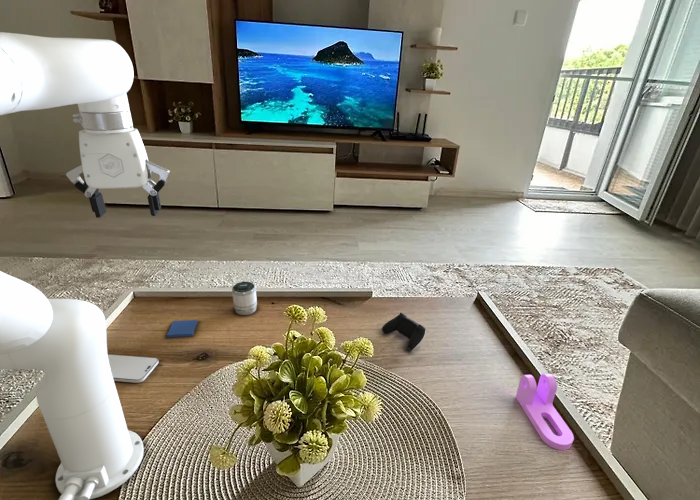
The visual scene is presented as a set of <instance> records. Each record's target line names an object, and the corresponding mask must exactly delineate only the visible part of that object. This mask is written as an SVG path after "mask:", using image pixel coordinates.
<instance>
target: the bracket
mask: <svg viewBox="0 0 700 500" xmlns="http://www.w3.org/2000/svg"><path fill="white" fill-rule="evenodd" d="M557 390H558V384H557V380H556V378H555V376H554V375H553V374H552V373H543V374H541V375H539V380H538V383H537V381H536V379H535V377H534V376H533V375H532V374H522V375H521V376H520V379H519V382H518V387H517V390H516V394H515V399H516V400H517V402H518V403H519V405H520V406H521V408H522V410H523V412H524V413H525V414H526V416H527V418H528V419H529V421H530V423H531V424H532V426H533V428H534V429H535V431H536V432H537V434H538V436H539V438H540V439H541V440H542V442H544V444H546V445H547V446H549V448H552V449H555V450H558V451H567V450H569V449H570V448H571V447H572V445H573V442H574V440H575V436H574V434H573V433H574V432H572V430H571V429H570V427H569V426H568V424H567V423H566V421H564V419H563V417H562V416H561V414H560V413H559V412H558V411H557V409H556V408H555V406H554V405H553V403H554V399H555V397H556V393H557ZM545 419H546V420H547V421H548V422H549V423H550V424H551V426H552V427H553V429H554V430H555V432H556V433H557V434H555V433H554V432H553V431H552V429H551V428H550V426H549V424H548V423H547V422H546V420H545Z"/></svg>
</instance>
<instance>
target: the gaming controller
mask: <svg viewBox="0 0 700 500" xmlns="http://www.w3.org/2000/svg"><path fill="white" fill-rule="evenodd" d="M381 332H382V333H383V335H387V334H388V335H389V334H391V333H393V332H398V333H399V334H401V335H402V336H404V337H405V338H406V339H408V343H407V347H406V350H407V351H408V352H413V351H414V350H415V349H416V348H417V347H419V345H421V343H422V342H423V340H424V339H425V336H426V332H427V329H426V328H425V326H423V325H422V324H419V323H418V322H416V321H415V320H413V319H411V318H409V317H407V315H406V314H405V313H403V312H400V313H399V314H398V315H396V316H395V317H393V318H392V319H390V320H388V321H387V322H385V323H384V324H383V326H382V327H381Z"/></svg>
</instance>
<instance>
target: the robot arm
mask: <svg viewBox="0 0 700 500" xmlns="http://www.w3.org/2000/svg"><path fill="white" fill-rule="evenodd" d="M134 74H135V73H134V66H133V62H132V60H131V58H130V56H129V54H128V53H127V52H126V50H125V49H124V48H123V47H122V46H121V44H119V43H118V42H116V41H114V40H111V39H105V38H104V39H103V38H83V37H50V36H41V35H40V36H39V35H31V34H25V33H24V34H23V33H16V32H15V33H14V32H5V31H0V116H4V115H9V114H13V113H18V112H24V111H37V110H46V109H52V108H58V107H64V106H69V105H77V108H78V113H77V114H72V117H71V118H72V121H73V123H75V124H80V125H81V127H82V128H83V129H82V130H79V131H78V145H79V146H78V147H79V155H80V162H81V164H80V165H78V166H76V167H75V168H73V169H70V170H69V171H67V172H66V173H65V176H66V177H67V178H68V179H69V181H70V182H71V183H72V184H73V185H74V187H75V188H76V189H77V190H79V191H80V192H82V193H83V194H84V196H85V197H86V198H88V199H89V204H90V207H91V211H92V213H94V215H95V218H97V219H98V218H99V219H101V218H102V216H104V215H105V214H106V213H107V209H106V205H105V200H104V197H103V194H102V193H101V192H100V191H99V190H100V189H102V190H105V189H109V190H110V189H138V188H142V189H143V190H144V191H145V192H147V194H148V196H147V202H148V208H149V213H150V215H151V216H152V217H156V216H157V215H158V214H159V212H160V210H161V209H162V205H161V199H160V193H159V192H160V191H161V190H162V189H163V188H164V186H166V185H167V182H168V179H169V176H170V174H171V171H170V170H169V169H168V168H166V167H163V166H161V165H158V164H156V163H154V162H152V161H149V158H148V154H147V151H146V148H145V145H144V143H143V139H142V137H141V134H140V132H139V130H138V128H136V127H135V128H134V124H133V119H132V114H131V110H130V104H129V99H128V95H127V93H128V92H129V91H130V90H131V88H132V85H133V82H134V77H135V75H134ZM152 173H154V174H157V175H159V179H158V181H157V183H156V182H155V181H154V180H152ZM81 174H83V178H84V179H83V178H82V177H81ZM108 354H109V353H108V339H107V320H106V317H105V314H104V312H103V310H102V309H101V308H100V307H98V306H97V305H95V304H94V303H92V302H90V301H87V300H83V299H77V298H76V299H75V298H48V297H47V296H46V295H45V294H44V293H43V292H42V291H41V290H39V289H38V288H37V287H35V286H34V285H32V284H31V283H29V282H27V281H24V280H22V279H20V278H18V277H16V276H12V275H10V274H8V273H5V272H3V271H1V270H0V370H1V371H2V370H36V371H37V370H38V371H42V372H43V373H44V377H43V378H42V379H41V381H40V383H39V385H38V386H37V390H36V401H37V406H38V407H39V411H40V412H41V415H42V417H43V420H44V422H45V425H46V428H47V431H48V432H49V435H50V438H51V440H52V443H53V445H54V447H55V450H56V453H57V455H58V457H59V460H60V464H59V466H58V468H57V470H56V473H55V478H54V479H55V485H56V488H57V491H58V492H59V494H61V495H60V496H59V498H58V500H94V499H96V498H97V499H98V498H99V497H103V496H104V495H107V494H109V493H111V492H112V491H114V490H116V489H117V488H119V487H121V486H122V485H123V484H125V483H126V482H127V481H128V480H129V479H130V478H131V477H132V476H133V474H134V473H136V471H137V470H138V468H139V466H140V465H141V463H142V460H143V457H144V452H145V449H144V443H143V440H142V438H141V437H140V435H139V434H137V433H136V432H134V431H133V430H129V428H128V426H127V423H126V419H125V415H124V411H123V408H122V404H121V401H120V397H119V393H118V390H117V386H116V383H115V381H114V379H113V376H112V372H111V368H110V364H109V359H108Z"/></svg>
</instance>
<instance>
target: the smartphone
mask: <svg viewBox="0 0 700 500" xmlns="http://www.w3.org/2000/svg"><path fill="white" fill-rule="evenodd" d="M108 359H109V364H110V368H111V372H112V376H113V379H114V382H123V383H134V384H135V383H136V384H138V383H139V384H140V383H143V382H144V381H145V380H146V379H147V378H148V376H150V374H151V373H152V372H153V371H154V370H155V368H156V367H157V366H158V364H159V363H160V362H159V358H157V357H149V356H148V357H147V356H136V355H135V356H134V355H124V354H123V355H122V354H110V353H108Z"/></svg>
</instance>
